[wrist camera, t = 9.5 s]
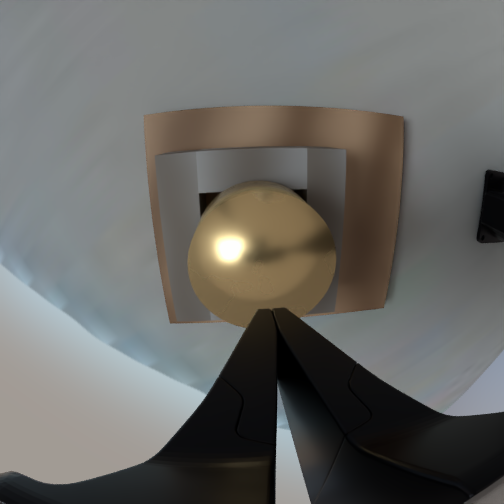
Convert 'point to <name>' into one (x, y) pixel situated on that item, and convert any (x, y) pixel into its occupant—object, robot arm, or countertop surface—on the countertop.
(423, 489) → the robot arm
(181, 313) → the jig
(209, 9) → the countertop surface
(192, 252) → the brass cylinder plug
